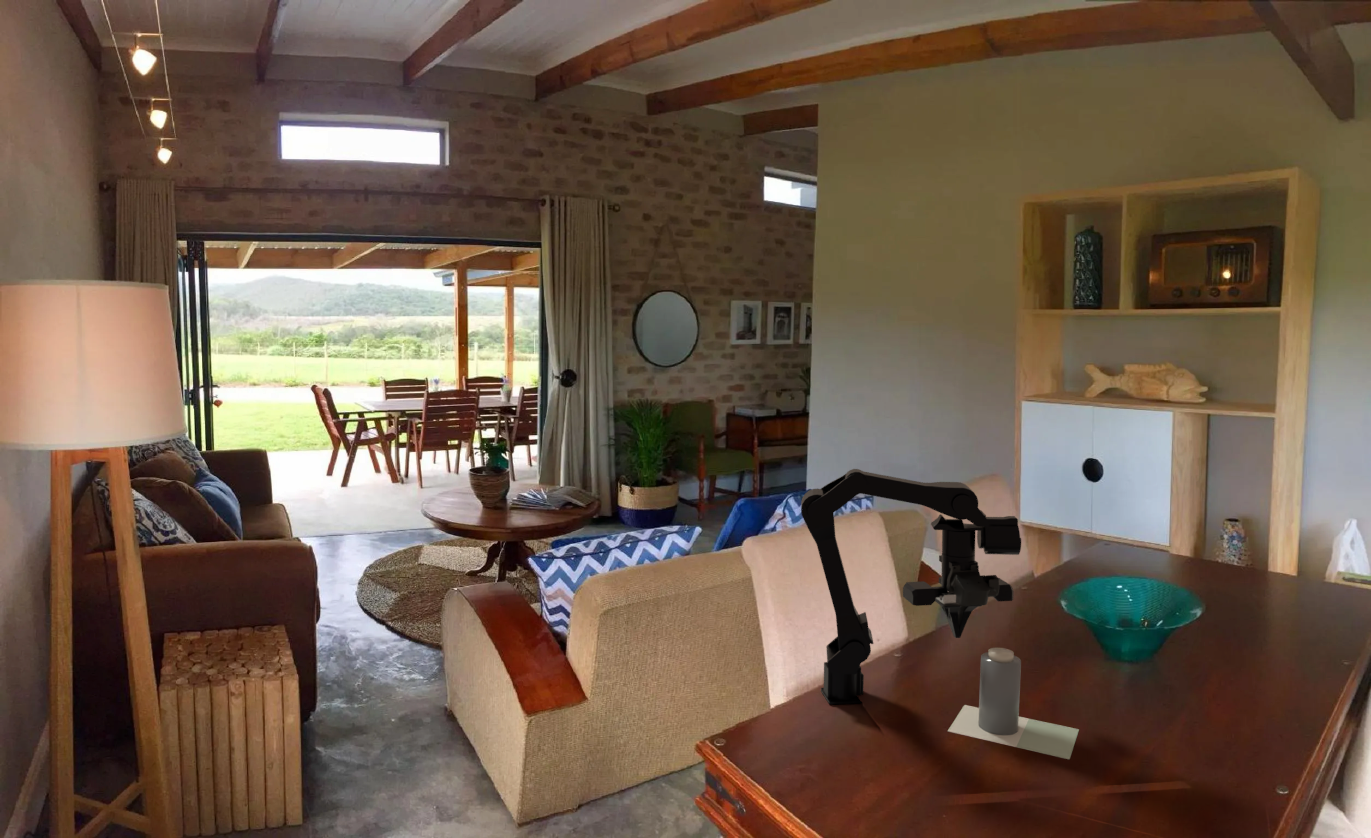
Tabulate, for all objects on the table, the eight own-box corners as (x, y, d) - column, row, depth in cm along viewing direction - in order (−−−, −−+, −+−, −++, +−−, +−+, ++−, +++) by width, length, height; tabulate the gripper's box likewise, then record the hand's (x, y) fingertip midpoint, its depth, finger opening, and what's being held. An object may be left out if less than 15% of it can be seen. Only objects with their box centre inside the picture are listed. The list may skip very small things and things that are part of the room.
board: (947, 735, 149) (947, 730, 149) (964, 709, 159) (964, 704, 159) (1069, 763, 139) (1069, 759, 139) (1078, 733, 149) (1079, 729, 149)
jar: (988, 736, 147) (991, 659, 145) (971, 719, 153) (974, 645, 152) (1025, 734, 147) (1028, 658, 146) (1007, 717, 154) (1010, 644, 152)
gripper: (925, 567, 150) (924, 656, 151) (1029, 562, 152) (1027, 650, 153) (902, 551, 161) (901, 634, 162) (999, 547, 163) (998, 628, 164)
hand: (956, 637), depth 160 cm, fingers closed
